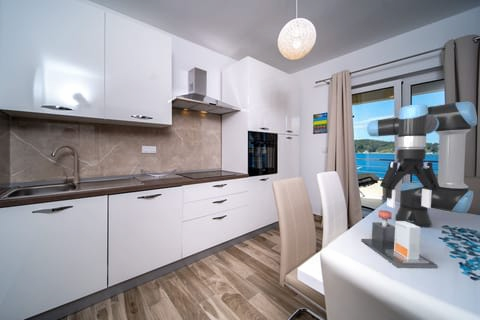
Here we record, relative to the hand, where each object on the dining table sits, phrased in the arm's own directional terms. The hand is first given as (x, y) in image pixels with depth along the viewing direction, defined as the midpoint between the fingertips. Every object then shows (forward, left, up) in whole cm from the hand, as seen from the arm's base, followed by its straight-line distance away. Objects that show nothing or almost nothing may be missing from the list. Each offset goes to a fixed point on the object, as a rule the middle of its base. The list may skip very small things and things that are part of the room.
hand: (408, 206), depth 68 cm
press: (0, -5, -20) cm, 21 cm away
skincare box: (0, 0, -19) cm, 19 cm away
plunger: (0, -10, -16) cm, 19 cm away
